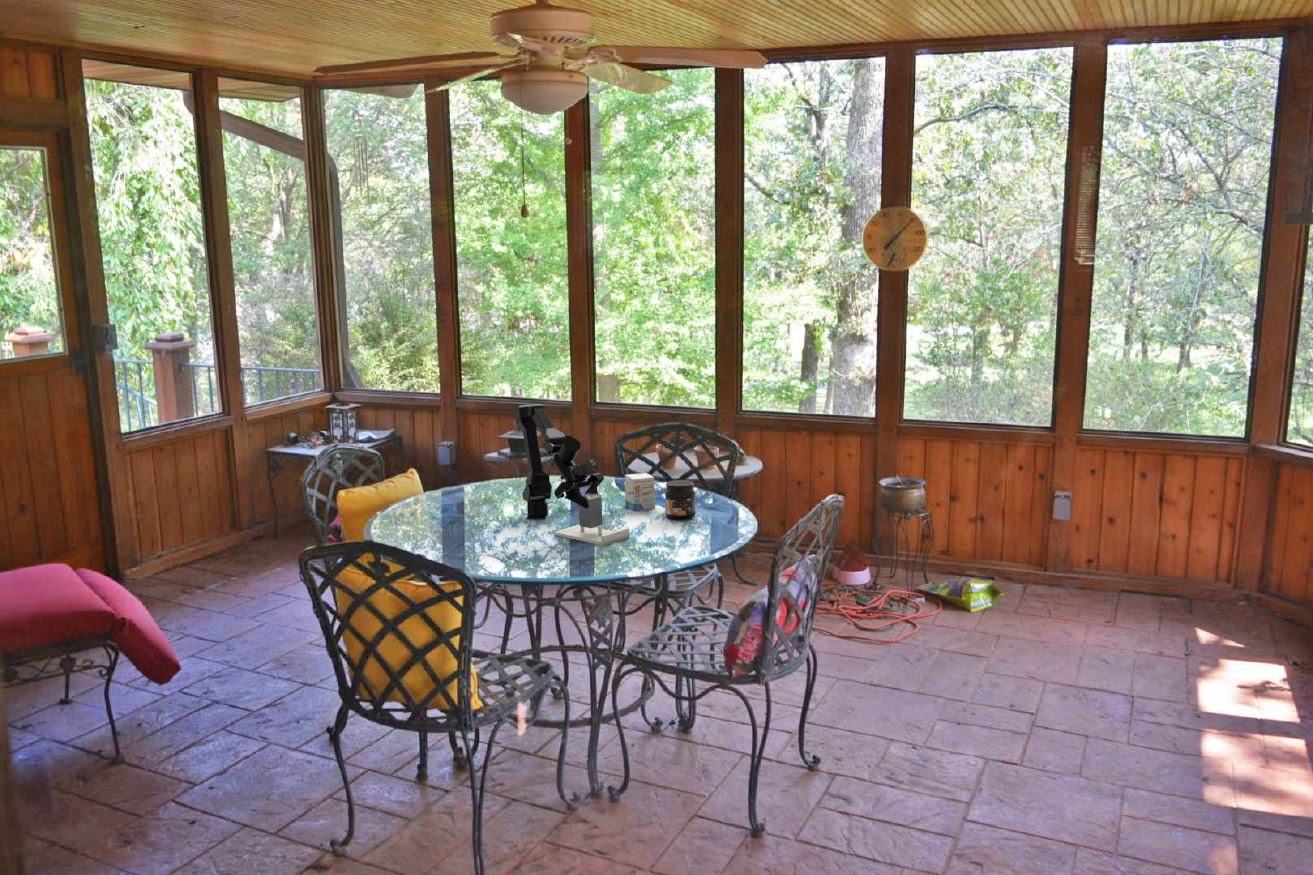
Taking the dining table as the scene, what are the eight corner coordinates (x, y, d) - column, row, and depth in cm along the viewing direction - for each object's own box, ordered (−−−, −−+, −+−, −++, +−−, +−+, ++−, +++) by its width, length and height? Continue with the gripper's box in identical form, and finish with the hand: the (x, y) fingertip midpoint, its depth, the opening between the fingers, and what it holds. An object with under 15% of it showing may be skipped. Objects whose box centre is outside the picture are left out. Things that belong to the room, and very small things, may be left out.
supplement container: (660, 519, 367) (659, 484, 365) (672, 512, 376) (672, 478, 374) (688, 521, 362) (688, 487, 360) (700, 514, 372) (700, 480, 370)
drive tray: (554, 534, 349) (553, 524, 348) (579, 527, 358) (579, 517, 357) (604, 545, 335) (603, 534, 334) (629, 537, 344) (629, 526, 343)
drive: (579, 525, 345) (578, 495, 343) (591, 522, 349) (590, 492, 348) (590, 528, 342) (590, 497, 340) (602, 524, 346) (601, 494, 344)
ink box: (633, 511, 378) (632, 478, 376) (624, 506, 386) (624, 474, 384) (655, 508, 381) (655, 476, 379) (647, 503, 389) (646, 472, 387)
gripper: (559, 457, 337) (586, 496, 332) (599, 448, 351) (625, 485, 346) (542, 479, 343) (568, 517, 338) (582, 469, 357) (608, 506, 352)
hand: (593, 506), depth 344 cm, fingers closed on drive, 5 cm apart
